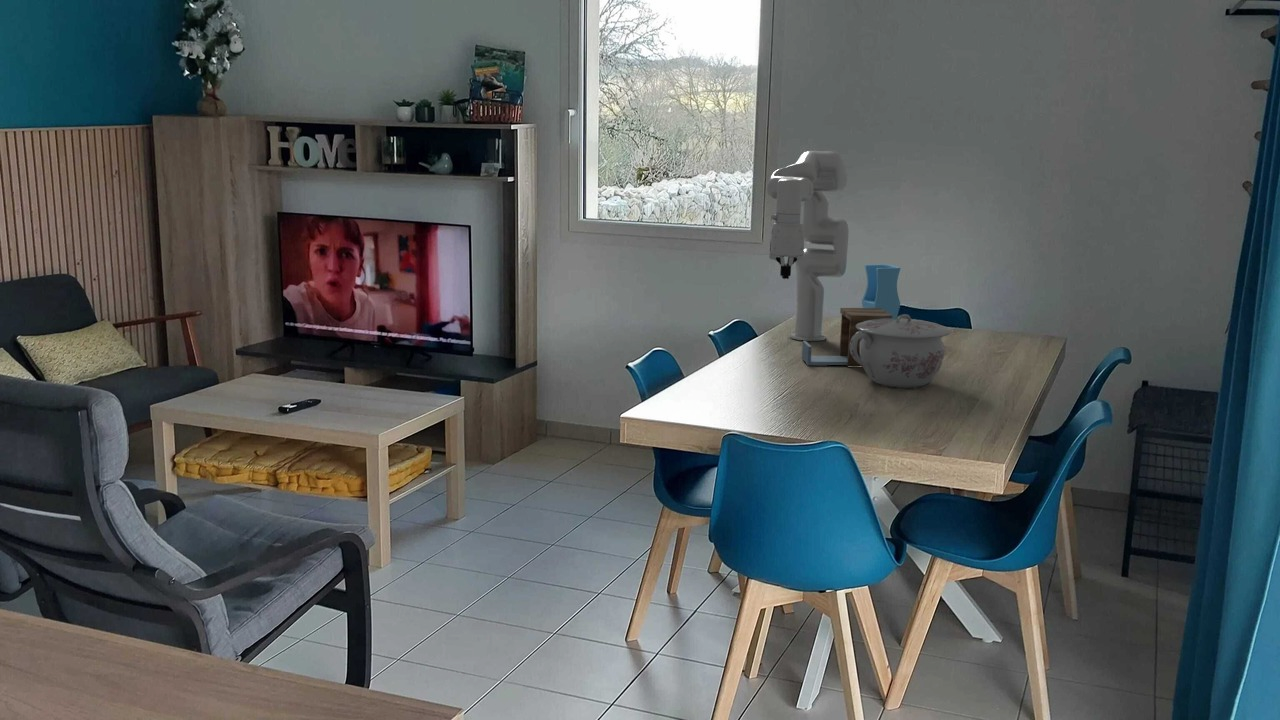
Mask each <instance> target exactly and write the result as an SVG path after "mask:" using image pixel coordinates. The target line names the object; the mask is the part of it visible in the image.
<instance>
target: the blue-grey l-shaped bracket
mask: <svg viewBox="0 0 1280 720" xmlns="http://www.w3.org/2000/svg"><path fill="white" fill-rule="evenodd" d="M801 348H802V349H801V350H802V351H801V360H802V359H803V360H804V361H805V362H806V363H805V362H804V361H803V360H802V361H803V362H804V363H805V364H806V365H807V366H827V365H847V361H848V356H839V355H812V345H811V344H809V342H808V341H802V347H801Z"/></svg>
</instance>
